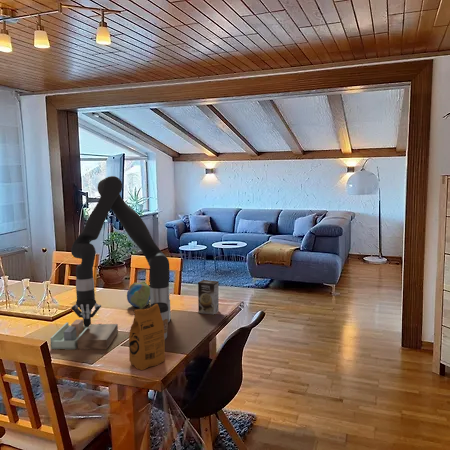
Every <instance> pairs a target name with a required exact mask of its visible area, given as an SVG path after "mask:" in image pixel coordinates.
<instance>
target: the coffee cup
mask: <svg viewBox="0 0 450 450" xmlns="http://www.w3.org/2000/svg"><path fill="white" fill-rule="evenodd" d="M155 304H158V306H159V309H160V314H161V316H162V320H163V325H164V340H166V339H167V337H168V326H169V325H168V324H169V322H168V306H167V304H166V303H162V302H158V303H153V304H151V305H150V304H149V308H150V307H152V306H153V305H155Z"/></svg>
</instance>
